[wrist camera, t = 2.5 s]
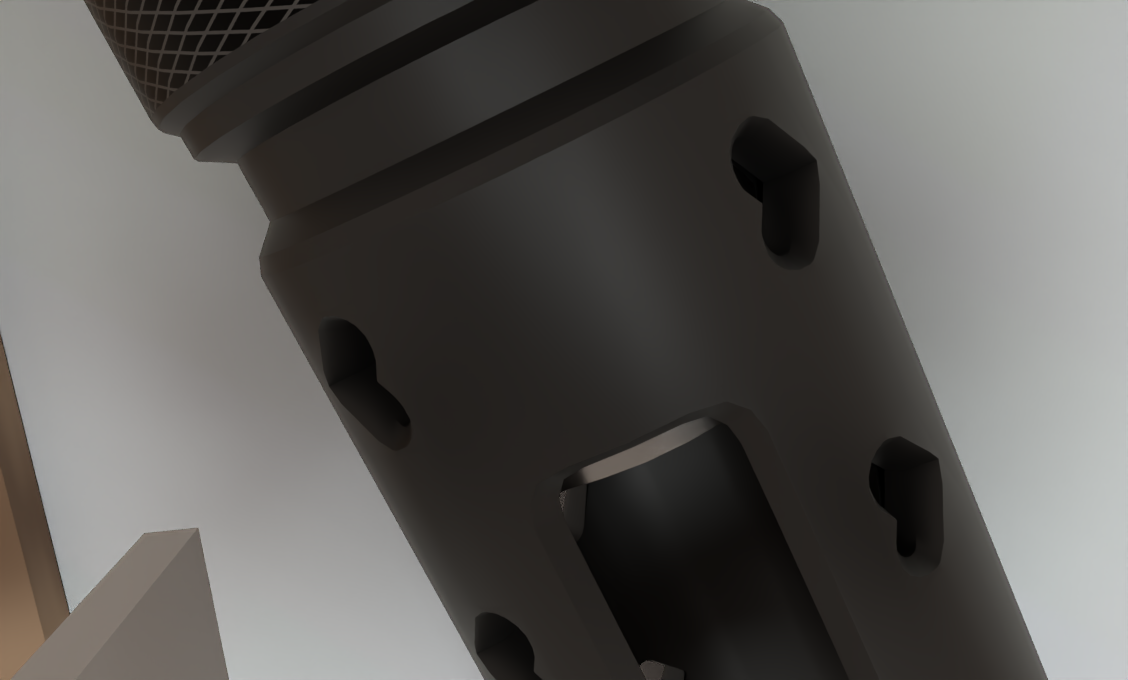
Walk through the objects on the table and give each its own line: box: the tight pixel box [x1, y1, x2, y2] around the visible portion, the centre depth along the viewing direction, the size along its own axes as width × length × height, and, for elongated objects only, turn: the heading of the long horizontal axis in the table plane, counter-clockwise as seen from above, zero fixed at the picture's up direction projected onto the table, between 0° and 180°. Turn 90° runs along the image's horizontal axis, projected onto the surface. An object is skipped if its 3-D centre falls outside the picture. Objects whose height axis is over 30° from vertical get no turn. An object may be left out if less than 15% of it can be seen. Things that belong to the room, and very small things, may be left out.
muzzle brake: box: [84, 0, 1048, 680], centre depth 19 cm, size 10×28×10 cm, turn 25°
